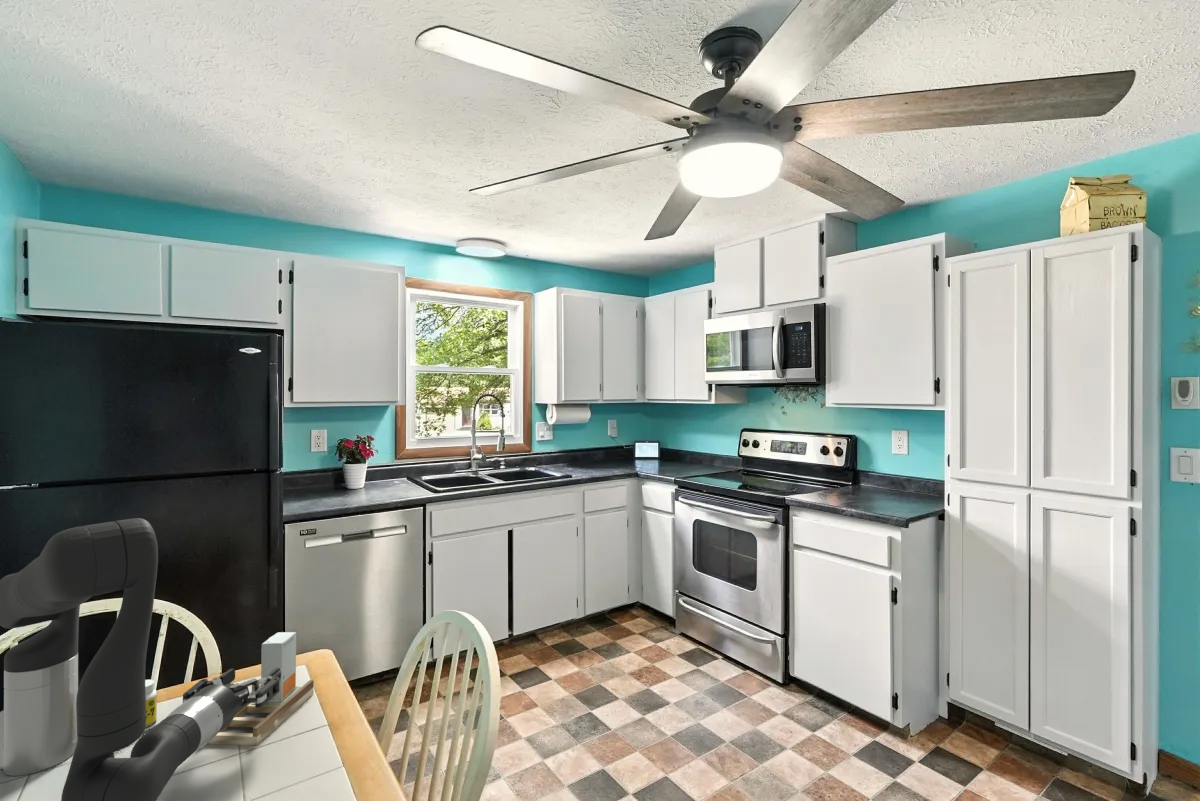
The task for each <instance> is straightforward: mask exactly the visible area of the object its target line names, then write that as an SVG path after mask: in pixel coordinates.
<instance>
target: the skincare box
mask: <svg viewBox="0 0 1200 801" xmlns="http://www.w3.org/2000/svg"><path fill="white" fill-rule="evenodd" d="M260 653H261V655H260V656H261V660H260V661H261V663H260V664H261V668H260V669H261V670H260V671H261V672H260V675H261V676H260V679H261V678H264V677H266V676H267V675H268V674H269V673H270V672H271V671H273V670H274V669H275V668H280V670H281V679H280V691H279V693H277V694H276V695H275V696H274V697H273V698H271V699H270V700H269V701H268V702H267V703H273V702H282V701H283V700H284V699H285V698H286V697H287V696H288V695H289V694H290V693H291V692H292V691H293V690H294V689H295V688H296V687H297V685H296V684H297V683H296V682H297V681H296V680H297V632H296V631H295V632H294V631H288V632H287V631H286V632H284V631H281V632H280V631H279V632H276V633H275V634H273V635H272V636H270V637H268V639H266V640H265V641H264V642H263V643H261V652H260ZM260 685H261V688H262V687H263V686H264V683H262V684H260Z"/></svg>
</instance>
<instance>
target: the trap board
mask: <svg viewBox="0 0 1200 801" xmlns="http://www.w3.org/2000/svg"><path fill="white" fill-rule="evenodd" d="M259 689H261V684H260V685H259ZM249 693H250V695H251V694H252V691H249ZM313 695H314V679H309V680H308V681H307V682H305V683H304V684H303V685H302V686H296V688H295V689H294V690H293V691H292V692H291V693H290V694H289V695H288V696H287V697H286V698H285V699H284V700H283V701H282V702H273V703H266V704H264V705H263V706H262V707H259V708H256V707H255V703H248V704H247V705H245V706H243V707H241V708H239V710H238V711H237V713H236V715H235V717H234V718H233V720H232V721H231V722H230V723H229V724H228V725H227V726H225V727H224V728H223V729H222V730H221V731H220V732H219V733H218V734H217V735H215V736H214V737H213V738H212V739H211V740H210V741H209V742H208V743H207V744H210V745H211V744H214V745H215V744H216V745H243V746H257V745H259V744H260V743H261V742H262V741H263V740H265V739H266V738H267V737H268V736H269V735H270V734H271V733H272V732H273V731H275V729H277V728H278V727H279V726H280V725H282V723H283V722H284V721H286V720H287V719H288V718H289V717H290V716H291V715H292V714H294V712H296V711H297V710H298V709H299V708H300V707H301V706H303V704H304V703H305V702H306V701H308V700H309V699H310V698H311V697H312V696H313ZM310 696H311V697H310ZM309 697H310V698H309ZM308 698H309V699H308ZM307 699H308V700H307Z"/></svg>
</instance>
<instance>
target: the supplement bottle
mask: <svg viewBox="0 0 1200 801" xmlns="http://www.w3.org/2000/svg"><path fill="white" fill-rule="evenodd" d="M145 689H146V727H145V730H144V732H145V733H146V732H148V731H149V729H152V728H153V727H154V726H156V725H157V714H158V713H157V711H158V710H157V705H158V704H157V701H158V700H157V699H158V695H157V694H158V692H157V690H156V689H155V680H154V679H145ZM144 732H143V733H144Z"/></svg>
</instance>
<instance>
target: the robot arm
mask: <svg viewBox="0 0 1200 801" xmlns="http://www.w3.org/2000/svg"><path fill="white" fill-rule="evenodd" d="M158 564H159V546H158V539H157V536H156V533H155V530H154V528H153V526H152V524H151V523H150V522H149V521H148V520H146V519H144V518H142V517H141V518H140V517H138V518H137V517H136V518H135V517H134V518H127V519H120V520H115V521H106V522H100V523H94V524H87V525H86V524H85V525H82V526H81V525H80V526H75V527H70V528H67V529H64V530H61V531H59V532H57V533H55V534H53V535H52V536H51V537H50V539H48V541H47V542H46V544H45V545H44V547H43V549H42V550H41V552H40V554H39V556H37V557H35V558H34V559H33V560H32V561H31V562H29V563H28V564H27V565H26V566H25V567H23V568H22V569H21V570H19V571H18V572H14V573H10V574H7V575H4V576H3V577H2V578H1V579H0V627H2V628H4V629H19V628H24V627H27V626H33V625H36V624H42V623H46V622H50V621H51V622H50V623H49V624H47V626H46V627H44V628H43V629H42V630H40V631H39V632H37V633H36V634H34V635H33V636H31V637H29V638H27V639H25V640H23V641H21V642H19V643H17V644H16V645H13V646H12V647H11V648H10V649H8V650H7V651H6V653H5V655H4V659H3V669H4V670H3V688H4V689H3V710H1V711H0V770H3V773H4V774H5V775H7V776H15V777H16V776H23V775H24V776H25V775H29V774H34V773H37V772H40V771H43V770H47V769H50V768H52V767H54V766H56V765H58V764H61V763H62V762H64V761H66V760H68V759H69V758H70V757H72V758H71V762H70V766H69V769H68V773H67V776H66V779H65V782H64V786H63V789H62V792H61V797H60V798H61V800H60V801H158V798H160V795H161V793H162V792H163V790H164V789H165V787H166V786H167V784H168V782H169V781H170V780H171V778H172V777H173V774H175V771H176V770H177V769H178V768H179V767H180V766H181V765H182V764H183V763H184V762H185V761H186V760H188V758H189V757H191V756H192V755H193V754H194V753H195V752H197V751H199V750H200V749H201V748H203V747H204V746H206V745H207V744H209V743H208V742H209V741H210V740H211V739H212V738H213V737H214V736H215V735H217V734H218V733H219V732H220V731H221V730H222V729H223V728H224V727H225V726H227V725H228V724H229V723H230V722H231V721H232V720H233V718H234V717H235V715H236V713H237V711H238V710H239V708H241V707H243V706H245V705H247V704H248V703H255V707H256V708H259V707H262V706H263V705H264V704H266V703H267V702H268V701H269V700H270V699H271V698H273V697H274V696H275V695H276V694H277V693H279V691H280V679H281V670H280V668H275V669H274V670H273V671H271V672H270V673H269V674H268V675H267V676H266V677H264V678H261V677H260V678H259V679H256V678H251V679H249V680H246V681H243V682H241V683H232V682H234V681H235V679H236V669H235V668H229V669H228V670H227V671H225V672H223V673H221V675H219V676H215V677H212V678H211V680H208V678H202V679H200V680H199V681H197V683H195V684H194V685H193V686H192V687H190V688H189V689H188V690H186V691H185V692H184V693H183V694H182V703H181V704H180V705H178V706H176V708H175V709H173V710H172V711H170V713H169V714H168V715H167V716H165V718H163V719H162V720H161V721H160V722H158V723H156V725H155V726H154V727H153V728H151V729H150V730H147V731H146V732H145V733H144V730H145V727H146V689H145V680H146V664H147V663H146V661H147V652H148V644H149V639H150V632H151V631H150V630H151V624H152V618H153V616H152V615H153V611H154V610H153V609H154V601H155V595H156V594H155V592H156V584H157V577H158ZM122 590H123V592H122V593H123V595H122V601H121V606H120V608H119V612H118V616H117V617H116V620H115V622H114V624H113V625H112V627H111V629H110V631H109V633H108V634H107V636H106V638H105V639H104V641H103V642H102V644H101V646H100V647H99V649H98V650H97V652H96V653H95V655H94V656H93V658H92V660H91V661H90V663H89V664H88V665H87V667H86V670H85V672H84V673H83V676H82V678H81V680H80V683H79V627H80V623H79V622H80V607H81V605H82V604H84V603H85V602H86V601H88V600H90V599H91V598H92V597H94V596H95V597H96V596H100V595H104V594H108V593H113V592H117V591H122ZM262 683H264V686H263V687H262V688H261V689H259V686H260V685H261V684H262ZM250 686H251V692H252V694H251V695H250V690H249V687H250ZM134 743H135V744H134ZM133 744H134V745H133ZM131 745H133V747H132V749H131V751H130V756H129V757H115V753H116V752H119V751H121V750H123V749H126V748H127V747H130V746H131Z"/></svg>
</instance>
